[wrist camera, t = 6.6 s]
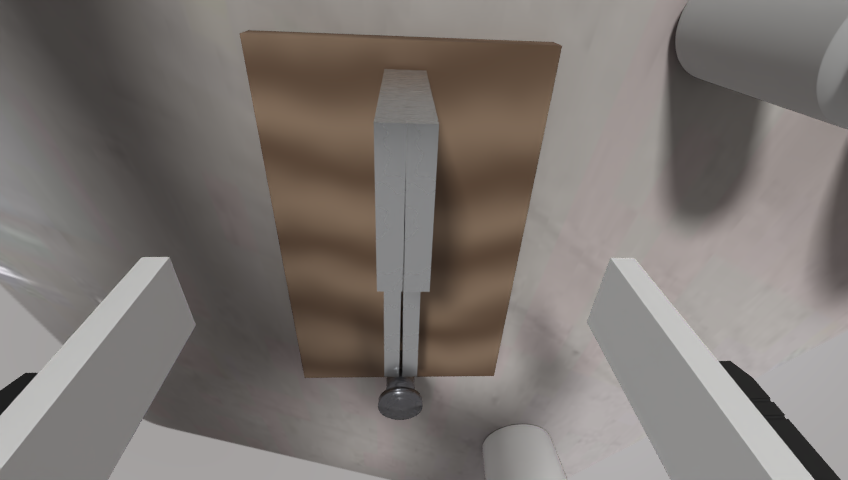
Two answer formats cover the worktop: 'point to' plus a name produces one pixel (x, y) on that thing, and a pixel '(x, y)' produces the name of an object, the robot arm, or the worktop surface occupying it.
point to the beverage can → (771, 51)
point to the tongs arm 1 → (390, 206)
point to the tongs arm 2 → (418, 208)
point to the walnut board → (355, 188)
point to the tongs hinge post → (400, 397)
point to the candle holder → (521, 454)
